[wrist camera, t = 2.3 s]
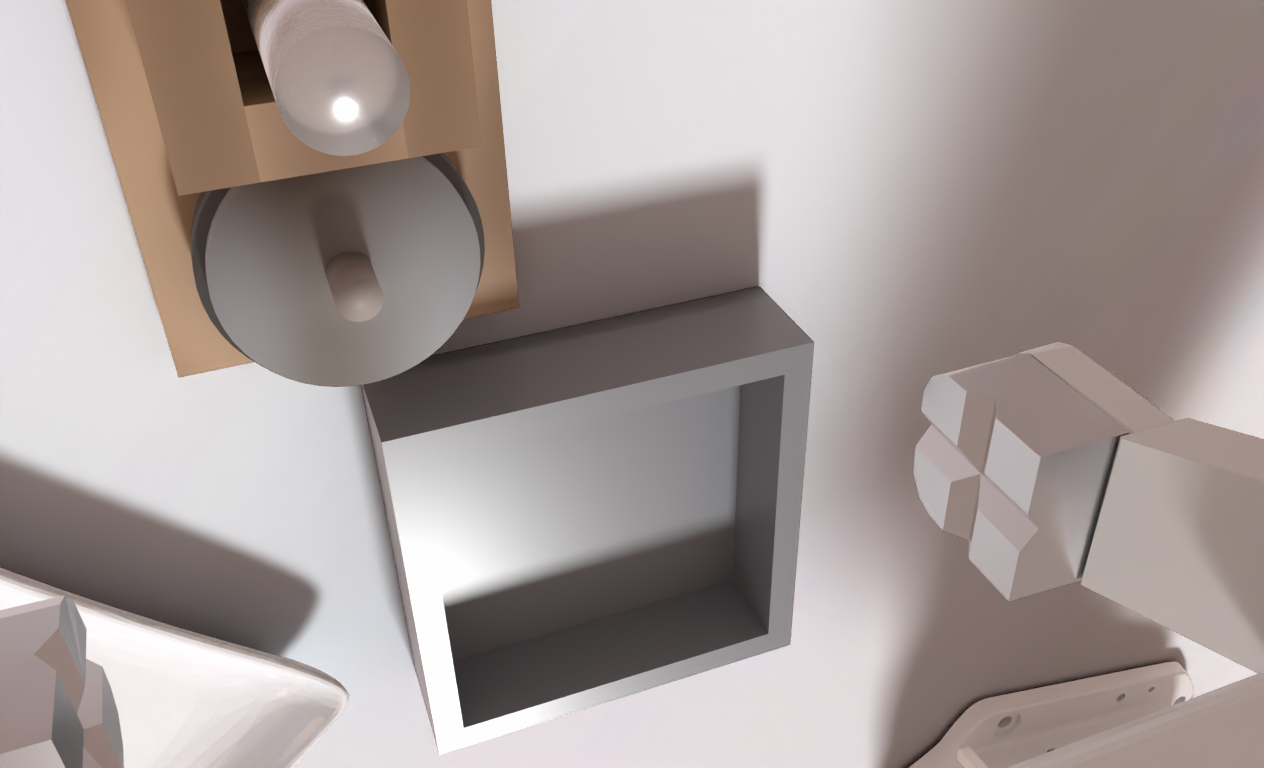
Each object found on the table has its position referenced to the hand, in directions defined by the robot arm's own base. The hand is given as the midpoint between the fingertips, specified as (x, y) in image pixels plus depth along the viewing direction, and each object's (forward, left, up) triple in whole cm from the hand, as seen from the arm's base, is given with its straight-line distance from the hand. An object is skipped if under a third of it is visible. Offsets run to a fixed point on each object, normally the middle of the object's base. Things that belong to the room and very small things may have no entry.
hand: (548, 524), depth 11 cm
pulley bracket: (0, +4, -23) cm, 23 cm away
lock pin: (0, 0, -22) cm, 22 cm away
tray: (-7, +20, -23) cm, 31 cm away
